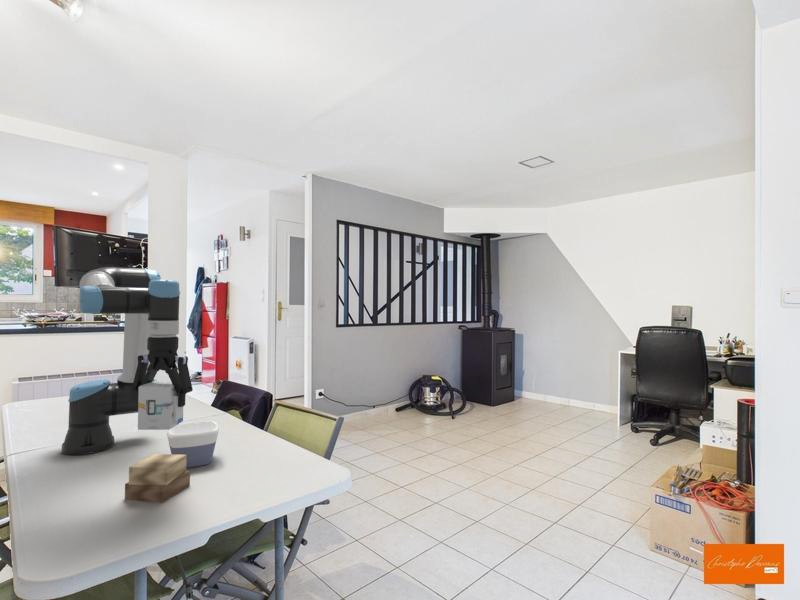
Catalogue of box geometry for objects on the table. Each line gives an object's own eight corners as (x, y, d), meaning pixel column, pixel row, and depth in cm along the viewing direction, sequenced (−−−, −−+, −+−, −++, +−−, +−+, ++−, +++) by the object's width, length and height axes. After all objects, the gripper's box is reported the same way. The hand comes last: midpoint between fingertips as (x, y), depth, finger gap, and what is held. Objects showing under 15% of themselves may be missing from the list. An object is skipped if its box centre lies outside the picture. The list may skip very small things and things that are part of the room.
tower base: (124, 500, 112) (125, 483, 112) (155, 483, 123) (155, 468, 123) (162, 504, 110) (162, 487, 110) (189, 486, 121) (190, 471, 121)
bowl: (165, 474, 129) (166, 437, 129) (166, 457, 142) (167, 424, 143) (220, 465, 136) (221, 431, 136) (216, 451, 149) (217, 419, 150)
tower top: (128, 484, 111) (129, 467, 111) (151, 469, 121) (151, 454, 121) (166, 485, 111) (167, 467, 111) (186, 470, 121) (186, 454, 121)
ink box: (152, 421, 120) (153, 380, 121) (183, 421, 121) (184, 380, 121) (136, 430, 112) (137, 385, 112) (170, 429, 113) (171, 385, 113)
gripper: (116, 335, 115) (115, 418, 115) (190, 337, 111) (188, 423, 111) (138, 334, 123) (136, 411, 122) (208, 336, 119) (206, 416, 118)
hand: (161, 417), depth 117 cm, fingers closed on ink box, 9 cm apart
